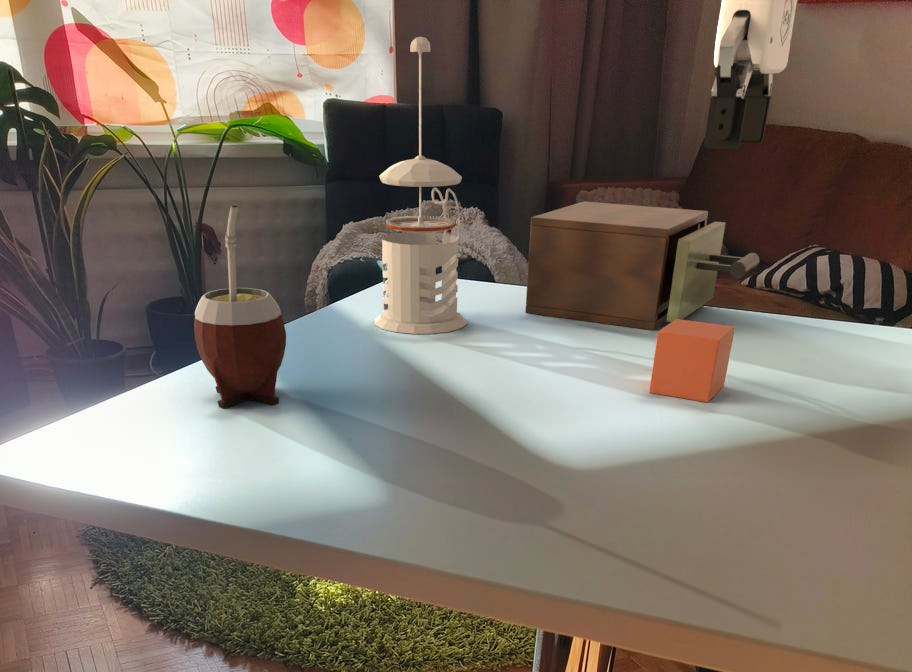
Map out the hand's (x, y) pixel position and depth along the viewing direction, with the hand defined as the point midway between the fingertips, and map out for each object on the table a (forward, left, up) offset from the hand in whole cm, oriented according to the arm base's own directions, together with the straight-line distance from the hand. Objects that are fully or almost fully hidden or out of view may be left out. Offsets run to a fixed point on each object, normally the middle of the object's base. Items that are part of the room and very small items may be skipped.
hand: (734, 145), depth 86 cm
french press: (+26, +15, -17) cm, 34 cm away
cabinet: (+11, -1, -16) cm, 20 cm away
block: (-5, +24, -16) cm, 30 cm away
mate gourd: (+25, +45, -17) cm, 54 cm away
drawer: (+5, -1, -16) cm, 17 cm away
